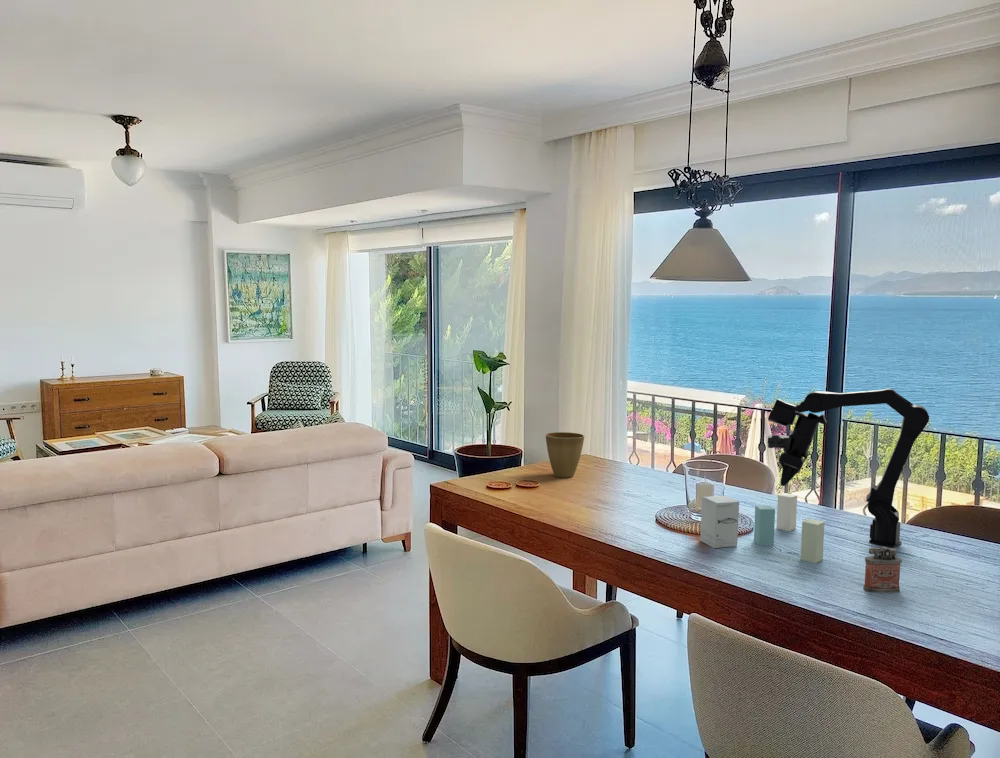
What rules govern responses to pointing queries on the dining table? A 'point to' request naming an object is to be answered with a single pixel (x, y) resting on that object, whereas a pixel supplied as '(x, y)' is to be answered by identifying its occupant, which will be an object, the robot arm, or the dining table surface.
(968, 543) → the dining table surface
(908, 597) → the dining table surface
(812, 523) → the sage post
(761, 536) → the teal post
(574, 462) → the plant pot
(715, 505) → the supplement box
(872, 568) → the lighter
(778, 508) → the off-white post
